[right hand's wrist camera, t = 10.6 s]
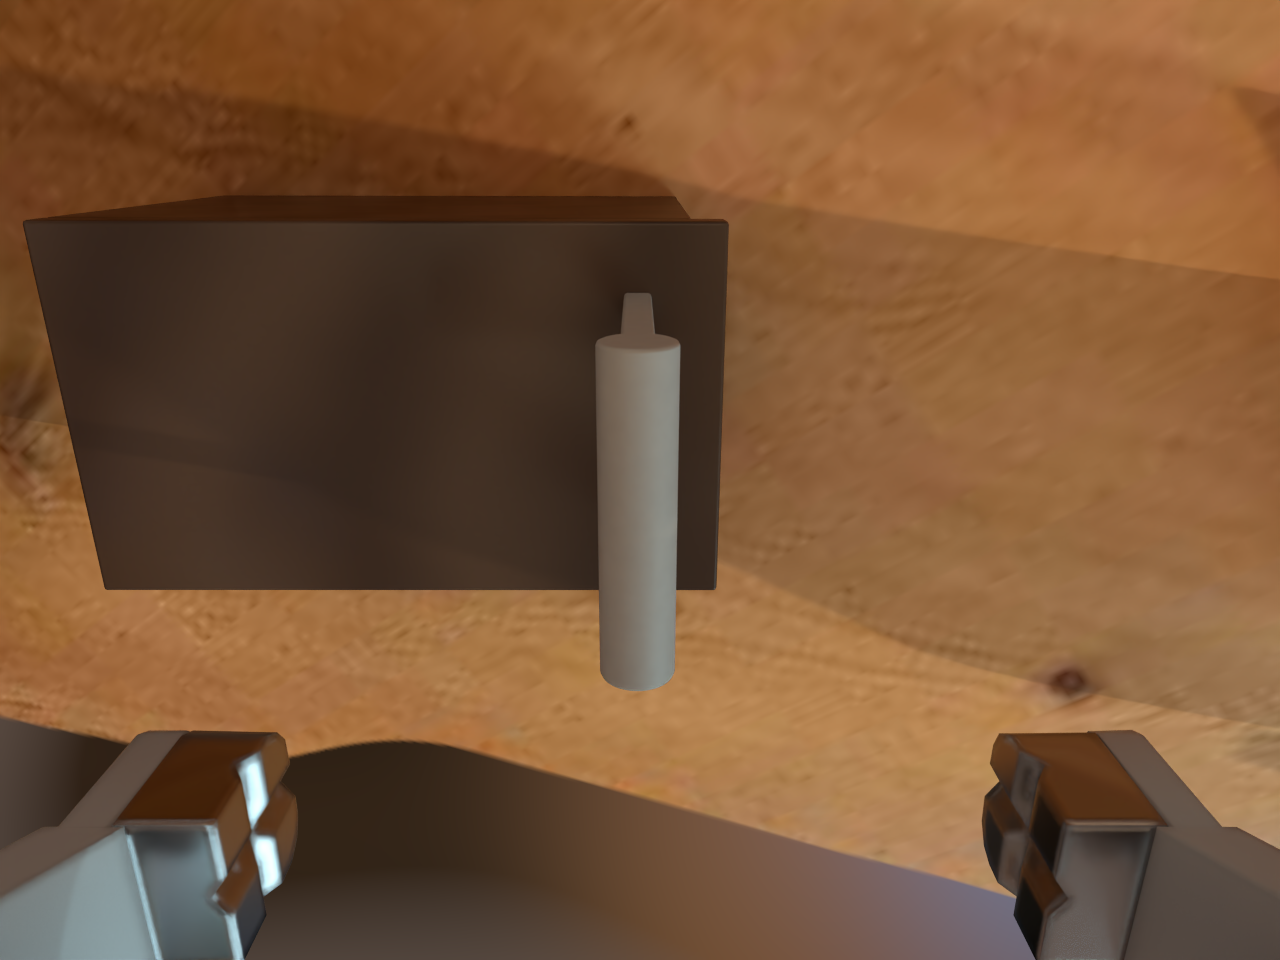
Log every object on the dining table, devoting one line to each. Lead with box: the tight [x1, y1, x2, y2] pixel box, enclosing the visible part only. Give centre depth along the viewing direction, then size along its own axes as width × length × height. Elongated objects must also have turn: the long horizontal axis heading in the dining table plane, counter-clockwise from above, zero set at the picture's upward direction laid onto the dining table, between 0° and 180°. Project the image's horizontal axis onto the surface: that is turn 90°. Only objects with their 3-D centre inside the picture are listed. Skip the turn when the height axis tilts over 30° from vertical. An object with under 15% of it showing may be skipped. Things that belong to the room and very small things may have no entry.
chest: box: [48, 196, 690, 219], centre depth 30 cm, size 17×10×11 cm, turn 90°
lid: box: [23, 218, 729, 691], centre depth 21 cm, size 18×10×8 cm, turn 90°
